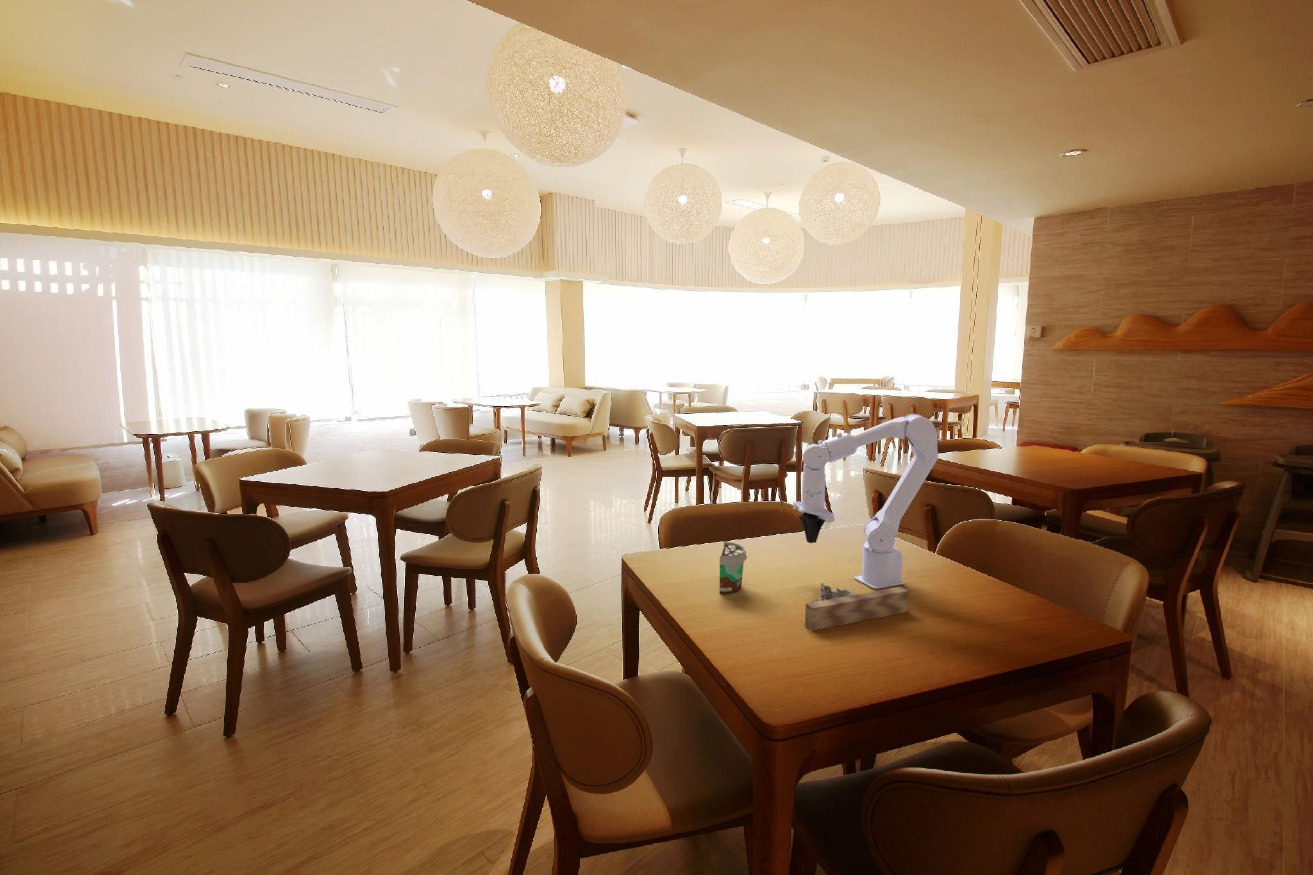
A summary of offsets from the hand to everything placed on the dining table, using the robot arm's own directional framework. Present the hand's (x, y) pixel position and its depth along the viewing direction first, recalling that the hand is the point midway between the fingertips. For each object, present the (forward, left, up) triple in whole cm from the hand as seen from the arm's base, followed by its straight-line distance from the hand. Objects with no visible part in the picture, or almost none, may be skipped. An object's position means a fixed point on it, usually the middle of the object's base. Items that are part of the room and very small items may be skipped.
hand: (811, 542), depth 154 cm
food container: (+23, -1, -10) cm, 24 cm away
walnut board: (+6, +25, -9) cm, 27 cm away
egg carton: (+6, +18, -10) cm, 22 cm away
